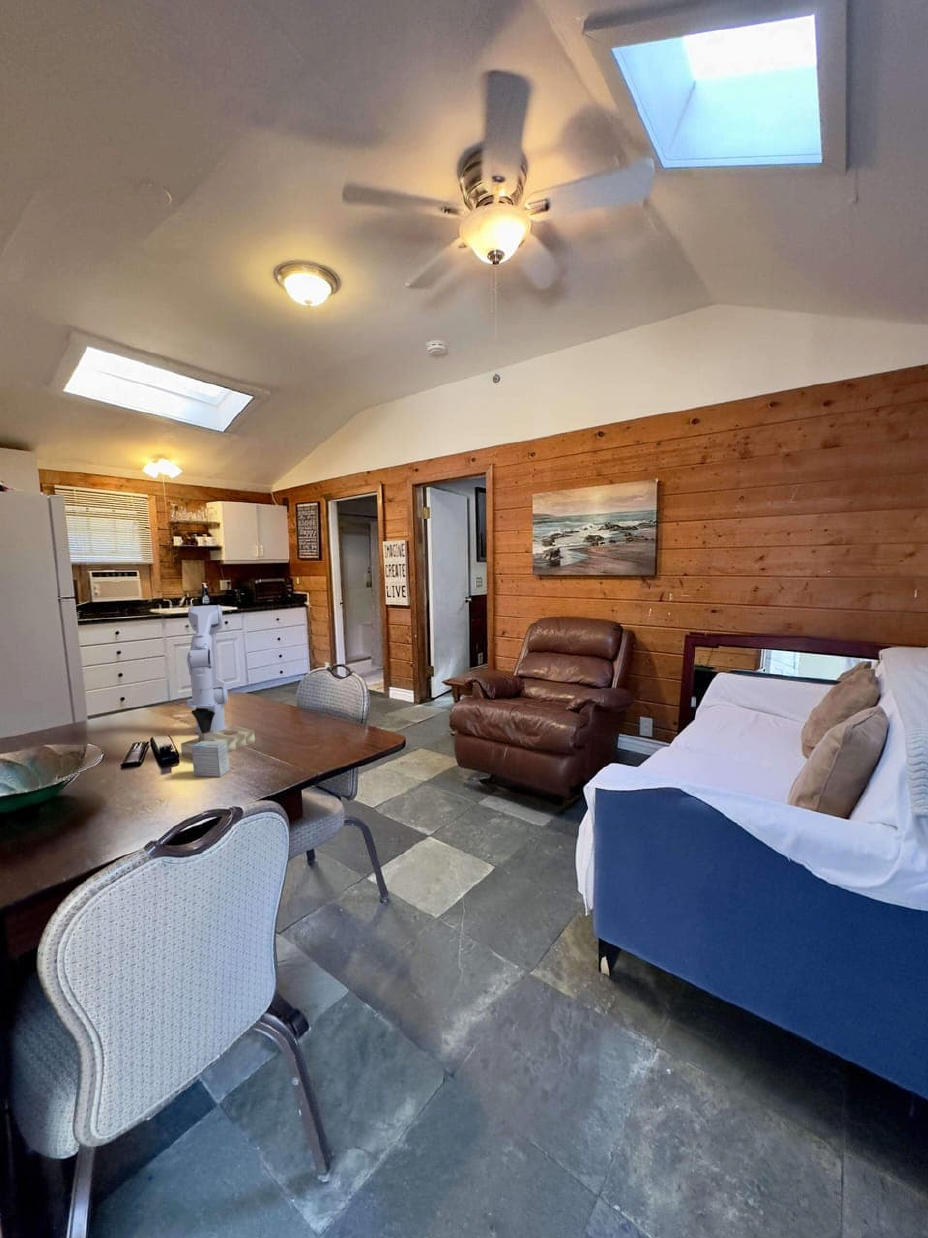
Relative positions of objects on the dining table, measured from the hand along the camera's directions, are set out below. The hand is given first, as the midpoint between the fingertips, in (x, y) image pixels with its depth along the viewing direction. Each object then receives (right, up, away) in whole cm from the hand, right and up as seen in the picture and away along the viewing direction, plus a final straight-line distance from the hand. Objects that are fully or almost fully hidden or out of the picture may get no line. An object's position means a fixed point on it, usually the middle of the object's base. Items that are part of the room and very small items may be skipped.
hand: (205, 731), depth 146 cm
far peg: (+4, -6, +8) cm, 10 cm away
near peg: (0, -4, +1) cm, 4 cm away
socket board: (+2, -7, +4) cm, 8 cm away
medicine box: (+9, -9, -13) cm, 19 cm away
